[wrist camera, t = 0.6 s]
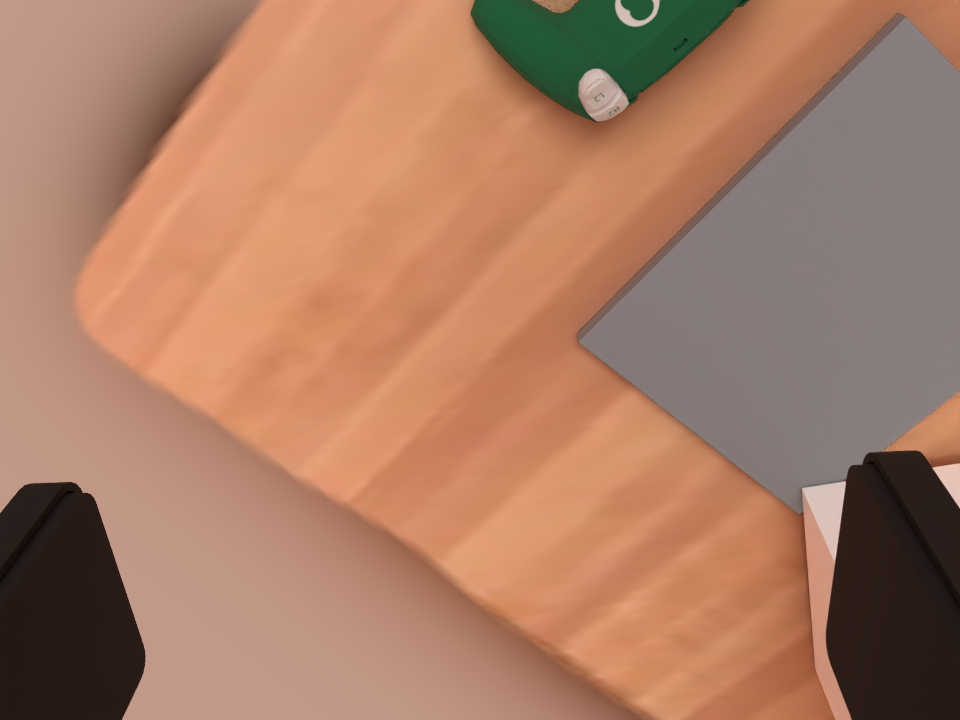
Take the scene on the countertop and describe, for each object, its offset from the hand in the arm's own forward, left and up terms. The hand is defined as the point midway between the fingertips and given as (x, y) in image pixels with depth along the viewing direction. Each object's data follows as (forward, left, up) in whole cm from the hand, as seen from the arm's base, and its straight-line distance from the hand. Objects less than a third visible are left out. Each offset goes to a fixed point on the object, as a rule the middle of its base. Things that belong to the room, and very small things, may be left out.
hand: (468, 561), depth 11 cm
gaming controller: (-6, 0, -25) cm, 26 cm away
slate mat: (-3, +15, -25) cm, 29 cm away
